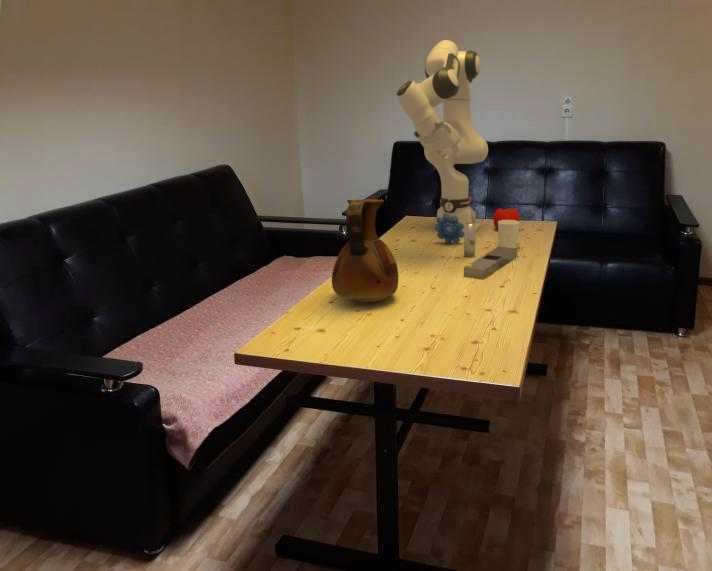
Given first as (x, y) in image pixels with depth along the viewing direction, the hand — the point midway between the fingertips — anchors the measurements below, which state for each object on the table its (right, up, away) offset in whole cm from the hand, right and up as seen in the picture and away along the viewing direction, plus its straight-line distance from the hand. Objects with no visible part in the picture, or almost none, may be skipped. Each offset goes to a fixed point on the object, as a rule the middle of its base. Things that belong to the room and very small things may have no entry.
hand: (452, 158), depth 239 cm
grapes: (+3, -29, +28) cm, 40 cm away
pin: (+8, -34, +10) cm, 36 cm away
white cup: (+24, -30, +21) cm, 44 cm away
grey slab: (+13, -38, -3) cm, 40 cm away
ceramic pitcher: (-31, -48, -34) cm, 67 cm away
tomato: (+30, -21, +50) cm, 62 cm away
